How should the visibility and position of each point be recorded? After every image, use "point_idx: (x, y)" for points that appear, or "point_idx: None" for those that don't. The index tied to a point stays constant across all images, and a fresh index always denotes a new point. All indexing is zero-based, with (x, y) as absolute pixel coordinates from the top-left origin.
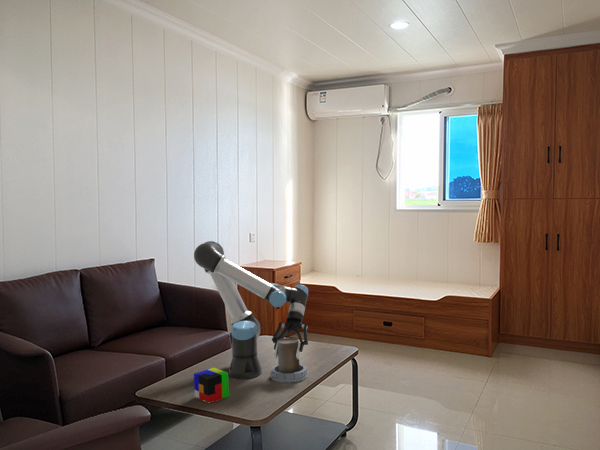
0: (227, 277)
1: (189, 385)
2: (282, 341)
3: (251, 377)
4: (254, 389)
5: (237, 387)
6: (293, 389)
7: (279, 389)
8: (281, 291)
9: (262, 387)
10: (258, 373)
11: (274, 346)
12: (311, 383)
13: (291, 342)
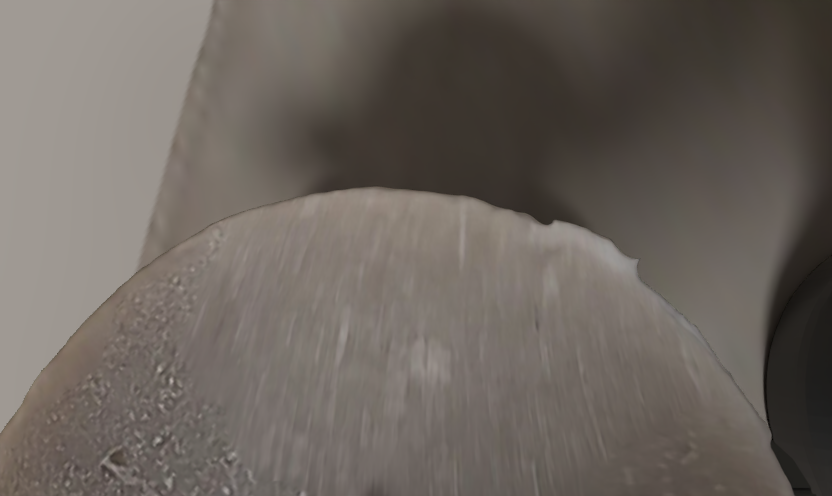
0: None
1: None
2: (539, 382)
3: (807, 277)
4: (616, 10)
5: (794, 16)
6: (272, 89)
7: (395, 61)
8: None
9: (566, 68)
10: (781, 364)
11: (802, 491)
12: None
13: (150, 313)
